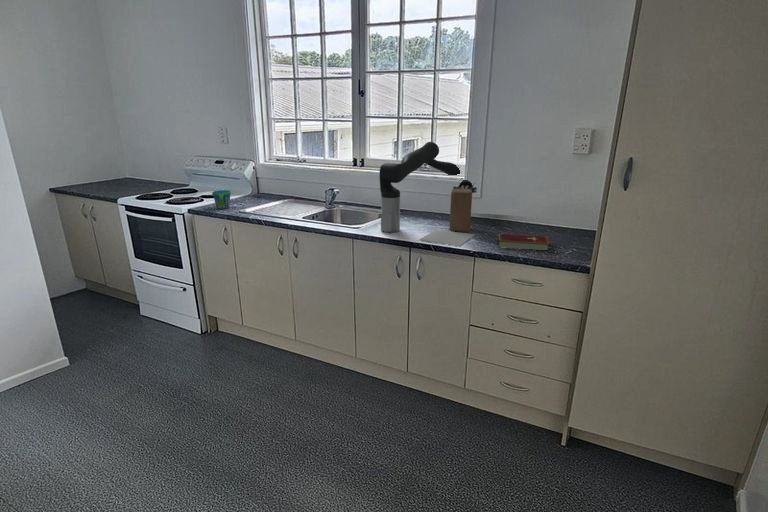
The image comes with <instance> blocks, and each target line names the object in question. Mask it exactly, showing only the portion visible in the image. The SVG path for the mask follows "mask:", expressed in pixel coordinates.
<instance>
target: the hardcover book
mask: <svg viewBox="0 0 768 512" xmlns="http://www.w3.org/2000/svg"><path fill="white" fill-rule="evenodd" d="M498 242H499V243H498V245H499V246H498V248H499V247H507V248H524V249H539V250H549V245H550V241H549V238H548V236H546V235H545V236H544V235H543V236H542V235H541V236H540V235H526V234H515V233H514V234H510V233H499V234H498ZM507 248H506V249H507Z"/></svg>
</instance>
